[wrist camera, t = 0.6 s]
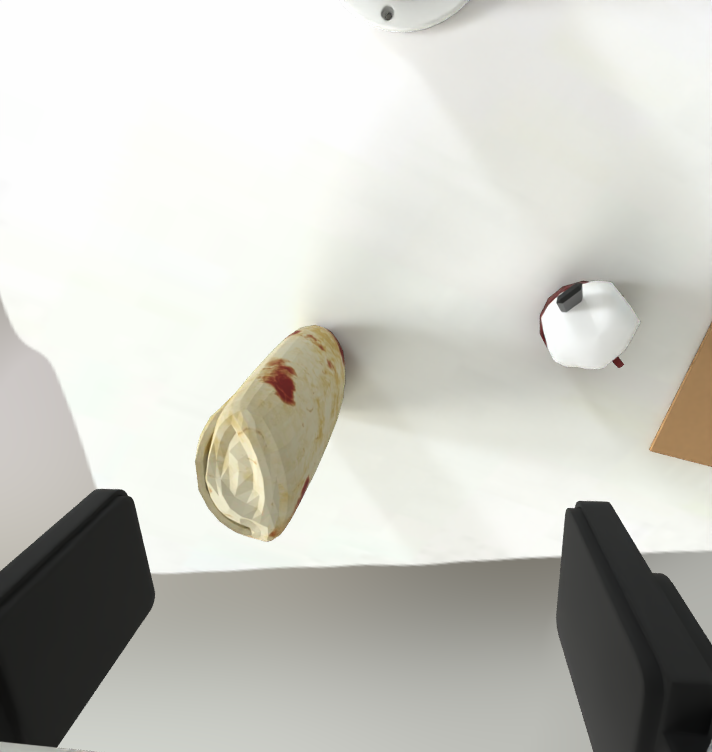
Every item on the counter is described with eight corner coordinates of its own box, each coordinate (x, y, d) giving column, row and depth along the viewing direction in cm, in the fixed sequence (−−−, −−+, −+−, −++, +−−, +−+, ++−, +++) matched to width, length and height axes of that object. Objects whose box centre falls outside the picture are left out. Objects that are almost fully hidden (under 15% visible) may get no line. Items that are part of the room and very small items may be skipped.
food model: (356, 416, 46) (305, 568, 27) (285, 413, 47) (189, 557, 28) (355, 311, 43) (297, 401, 24) (278, 310, 43) (165, 395, 25)
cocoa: (624, 350, 41) (699, 408, 29) (546, 373, 42) (588, 437, 31) (597, 237, 38) (667, 253, 27) (515, 266, 40) (548, 293, 28)
